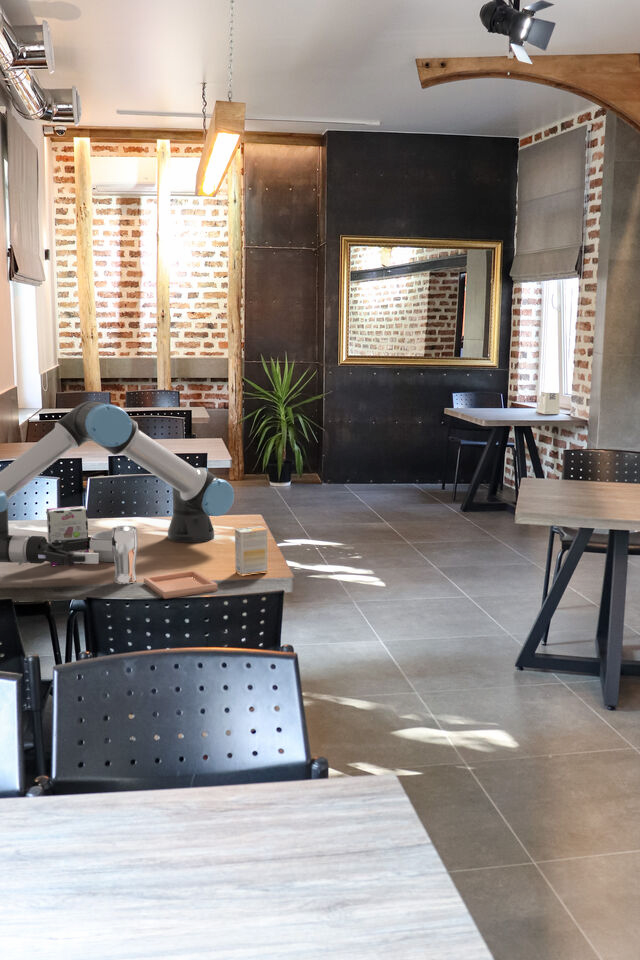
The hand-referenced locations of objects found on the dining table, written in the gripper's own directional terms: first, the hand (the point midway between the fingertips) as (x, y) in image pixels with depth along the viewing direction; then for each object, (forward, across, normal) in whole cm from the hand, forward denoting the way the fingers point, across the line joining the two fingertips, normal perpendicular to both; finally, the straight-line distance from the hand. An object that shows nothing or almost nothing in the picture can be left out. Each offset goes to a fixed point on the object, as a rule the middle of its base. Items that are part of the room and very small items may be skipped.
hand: (106, 551), depth 246 cm
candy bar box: (-16, -17, -8) cm, 25 cm away
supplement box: (+38, -13, -9) cm, 41 cm away
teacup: (-5, -24, -9) cm, 26 cm away
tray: (+21, +3, -8) cm, 23 cm away
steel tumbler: (+5, 0, -8) cm, 10 cm away
